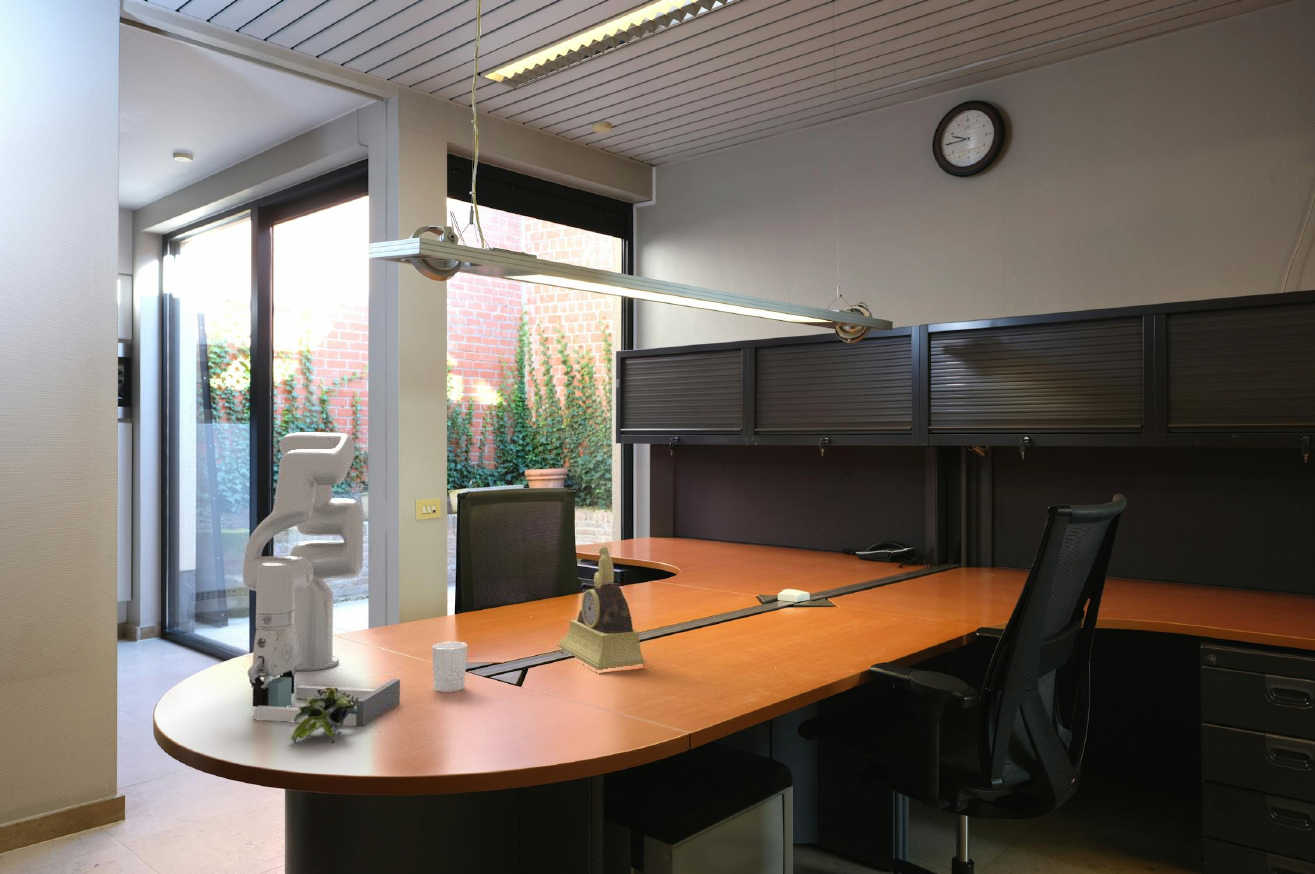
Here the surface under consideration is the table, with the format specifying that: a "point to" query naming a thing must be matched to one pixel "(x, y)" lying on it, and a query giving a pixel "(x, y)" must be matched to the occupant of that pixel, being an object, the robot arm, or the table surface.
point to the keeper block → (279, 691)
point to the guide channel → (368, 699)
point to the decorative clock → (603, 624)
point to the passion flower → (325, 713)
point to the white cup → (449, 666)
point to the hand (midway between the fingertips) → (273, 699)
